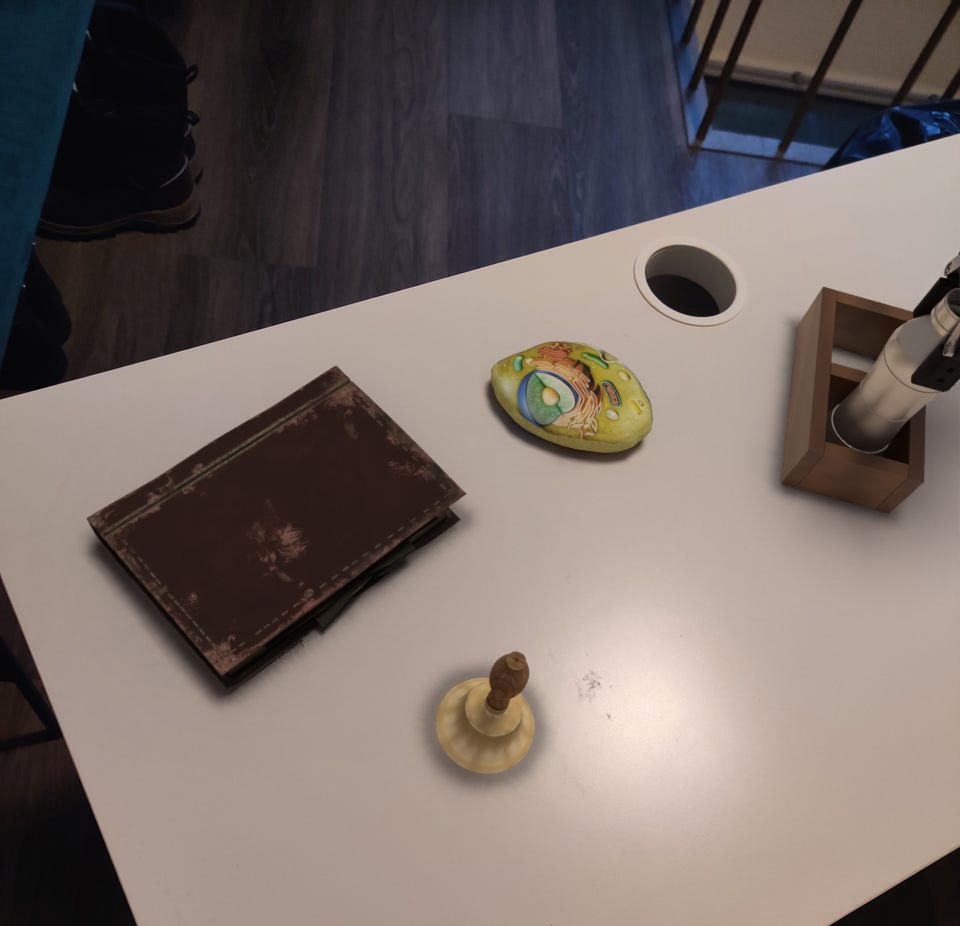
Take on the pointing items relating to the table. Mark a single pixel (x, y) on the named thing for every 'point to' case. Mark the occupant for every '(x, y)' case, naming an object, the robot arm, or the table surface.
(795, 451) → the shelf
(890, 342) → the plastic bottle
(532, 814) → the table surface
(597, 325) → the table surface
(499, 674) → the hand bell
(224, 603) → the diary
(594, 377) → the cell model
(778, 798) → the table surface
